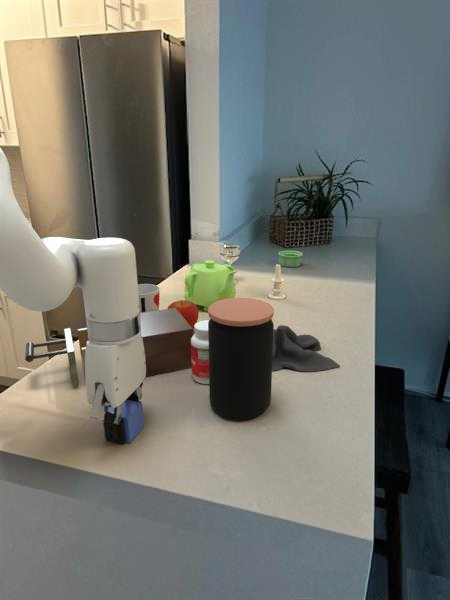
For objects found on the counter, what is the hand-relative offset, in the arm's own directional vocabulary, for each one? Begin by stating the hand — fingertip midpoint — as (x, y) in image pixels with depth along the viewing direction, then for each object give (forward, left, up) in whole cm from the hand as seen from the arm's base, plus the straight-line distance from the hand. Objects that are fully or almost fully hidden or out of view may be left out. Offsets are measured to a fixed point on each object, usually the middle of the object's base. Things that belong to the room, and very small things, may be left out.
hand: (124, 429), depth 68 cm
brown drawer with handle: (-4, +22, +1) cm, 22 cm away
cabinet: (+10, +22, 0) cm, 24 cm away
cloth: (+37, +14, -1) cm, 40 cm away
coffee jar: (+20, 0, -1) cm, 20 cm away
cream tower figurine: (+53, +47, -1) cm, 71 cm away
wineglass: (+46, +66, -1) cm, 80 cm away
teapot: (+33, +48, -1) cm, 58 cm away
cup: (+12, +40, -1) cm, 42 cm away
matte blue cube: (0, 0, 0) cm, 0 cm away
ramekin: (+75, +77, -1) cm, 107 cm away
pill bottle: (+18, +11, -1) cm, 21 cm away
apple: (+20, +34, -1) cm, 39 cm away
